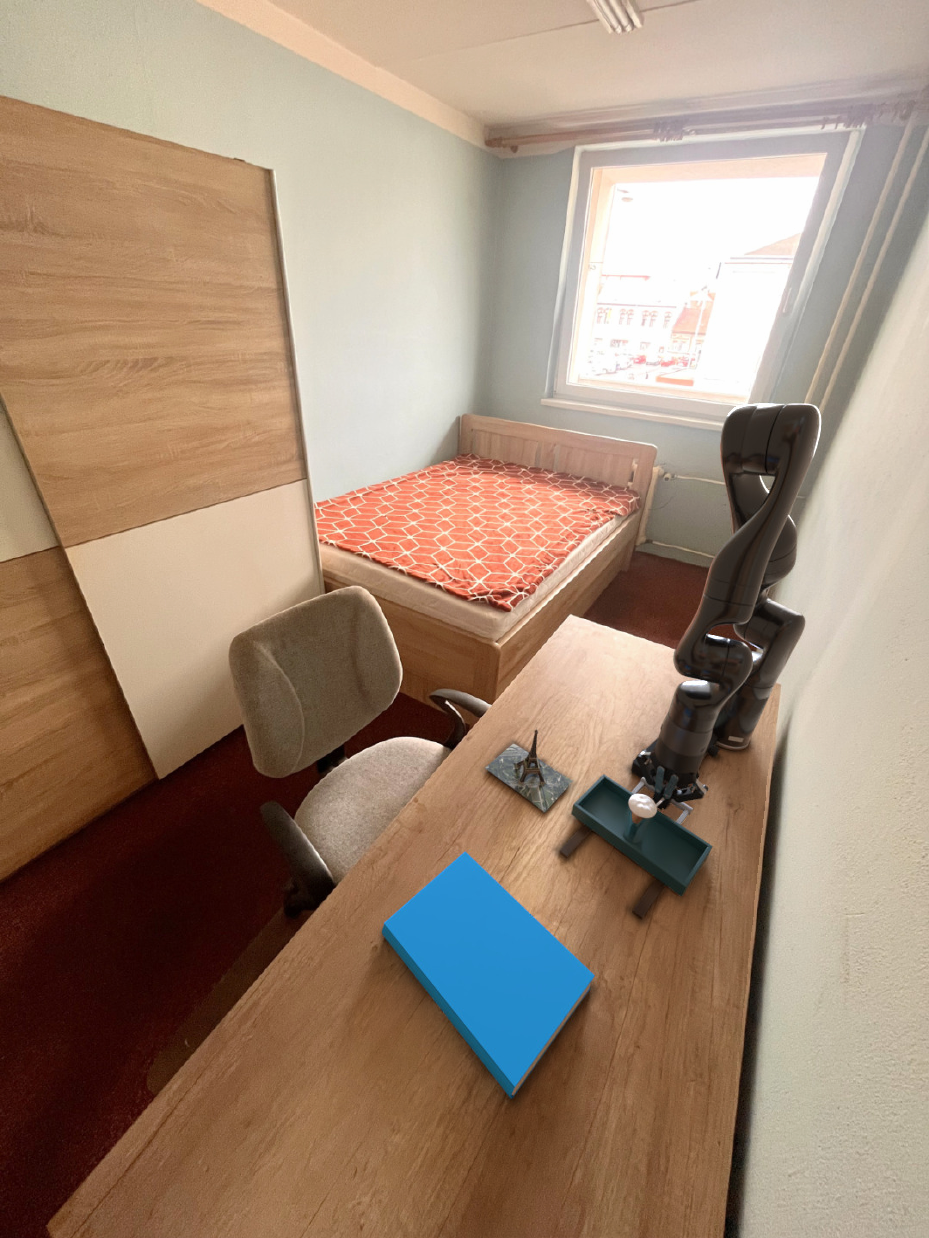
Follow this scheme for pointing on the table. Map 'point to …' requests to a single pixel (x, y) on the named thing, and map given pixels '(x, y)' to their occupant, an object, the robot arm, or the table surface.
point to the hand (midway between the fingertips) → (659, 805)
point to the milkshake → (639, 817)
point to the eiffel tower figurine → (529, 775)
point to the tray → (664, 843)
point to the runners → (647, 897)
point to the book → (489, 968)
